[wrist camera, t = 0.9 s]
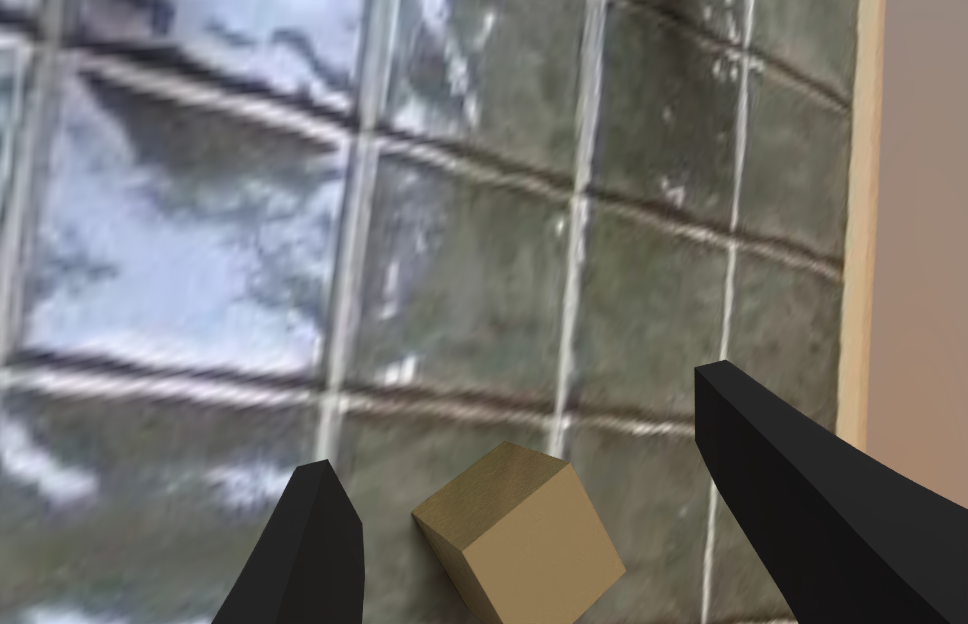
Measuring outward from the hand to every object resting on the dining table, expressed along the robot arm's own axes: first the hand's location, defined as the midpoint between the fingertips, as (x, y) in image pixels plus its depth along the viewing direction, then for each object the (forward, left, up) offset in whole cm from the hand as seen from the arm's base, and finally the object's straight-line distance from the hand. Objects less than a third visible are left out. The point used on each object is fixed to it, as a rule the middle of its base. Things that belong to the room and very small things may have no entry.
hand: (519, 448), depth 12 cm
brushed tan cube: (-7, -5, -13) cm, 16 cm away
